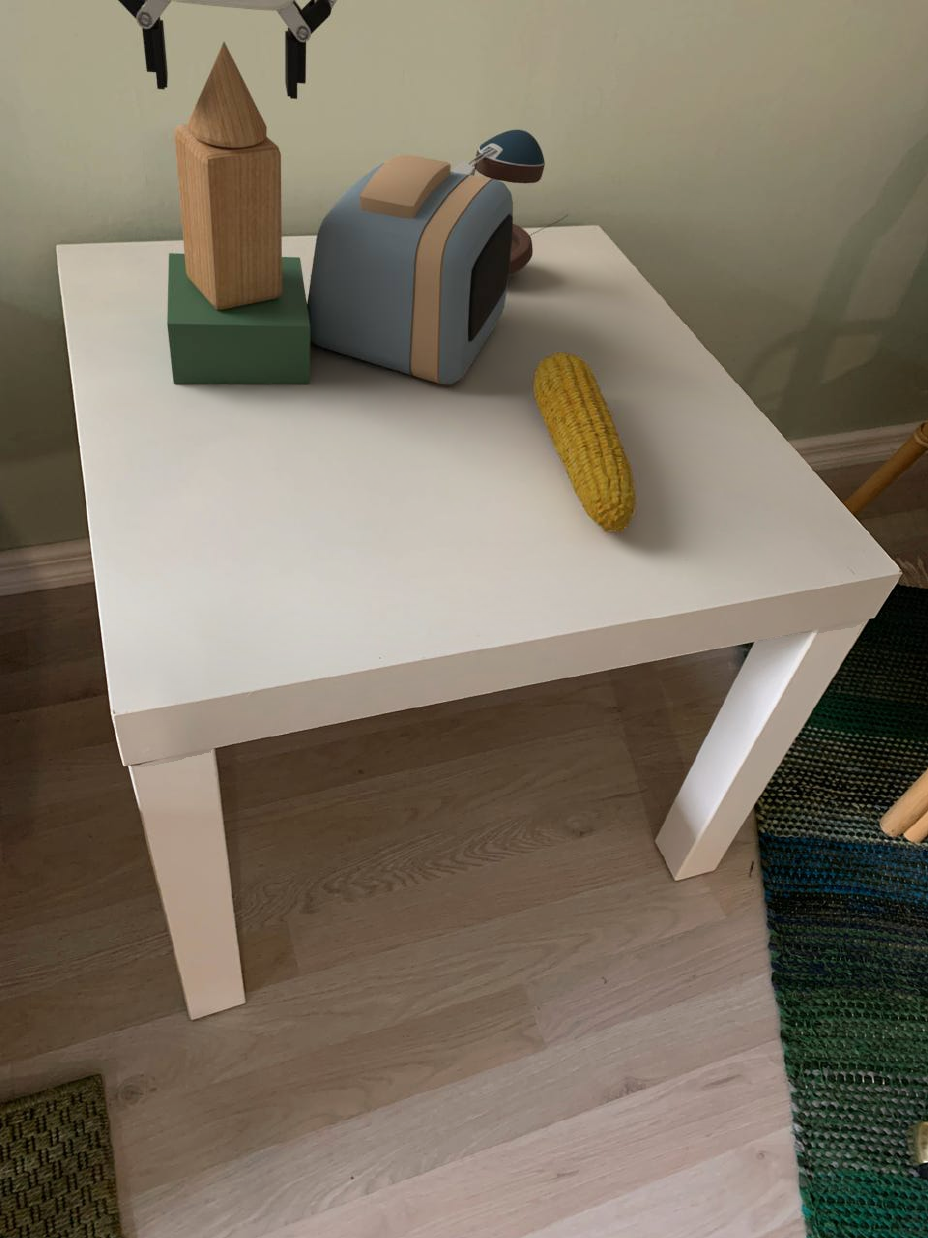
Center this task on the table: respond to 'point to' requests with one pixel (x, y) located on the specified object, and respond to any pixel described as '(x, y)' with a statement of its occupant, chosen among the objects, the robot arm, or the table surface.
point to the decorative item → (230, 193)
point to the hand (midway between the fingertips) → (227, 87)
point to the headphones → (510, 178)
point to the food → (586, 439)
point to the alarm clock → (412, 268)
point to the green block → (238, 333)
